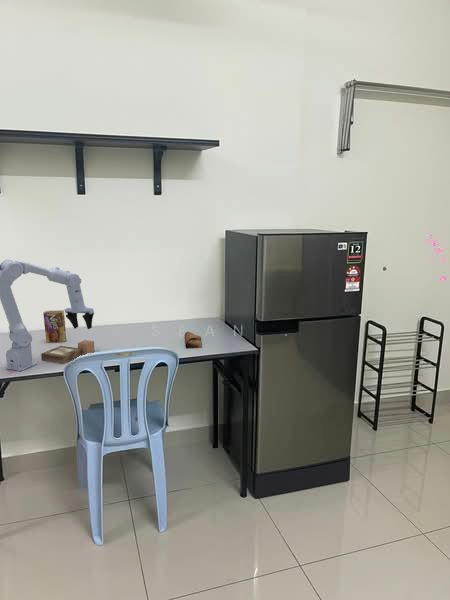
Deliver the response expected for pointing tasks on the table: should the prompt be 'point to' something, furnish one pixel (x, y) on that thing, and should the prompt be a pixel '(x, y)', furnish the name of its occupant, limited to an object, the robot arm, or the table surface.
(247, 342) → the table surface
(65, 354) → the plinth
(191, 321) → the table surface
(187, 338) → the sunglasses case
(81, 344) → the cube
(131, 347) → the table surface
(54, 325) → the candy box
